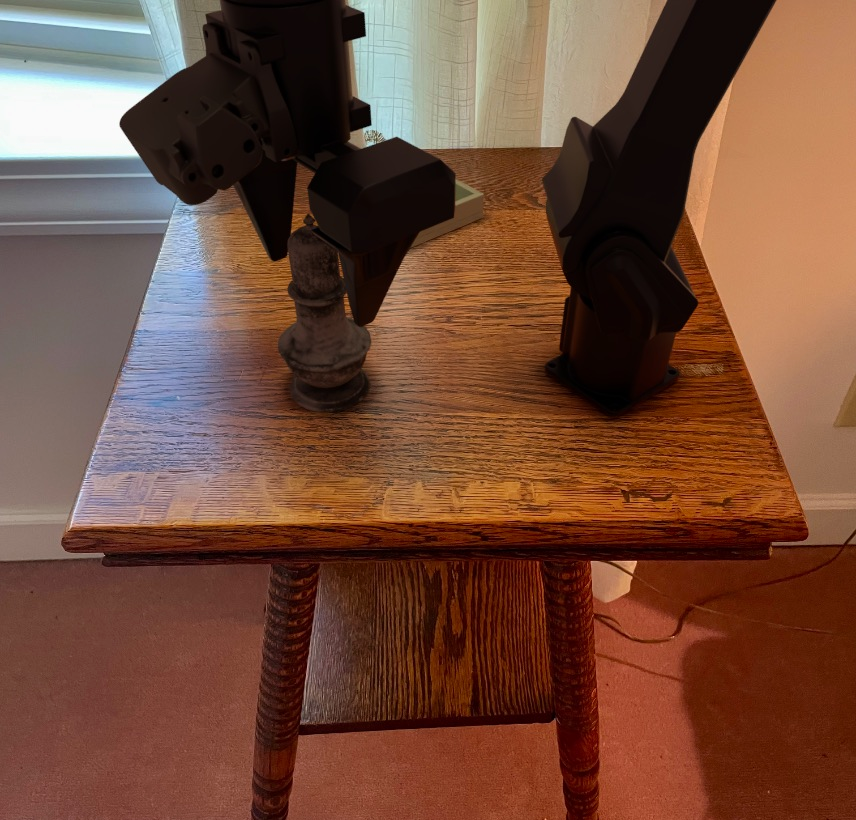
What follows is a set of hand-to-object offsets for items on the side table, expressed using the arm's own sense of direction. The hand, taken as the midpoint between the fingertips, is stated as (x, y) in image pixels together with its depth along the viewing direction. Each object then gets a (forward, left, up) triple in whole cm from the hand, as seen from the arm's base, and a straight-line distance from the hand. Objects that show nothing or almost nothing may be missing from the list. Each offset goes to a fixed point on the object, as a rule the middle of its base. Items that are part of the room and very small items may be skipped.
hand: (319, 289), depth 49 cm
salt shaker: (0, 0, -7) cm, 7 cm away
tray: (+16, -18, -7) cm, 25 cm away
